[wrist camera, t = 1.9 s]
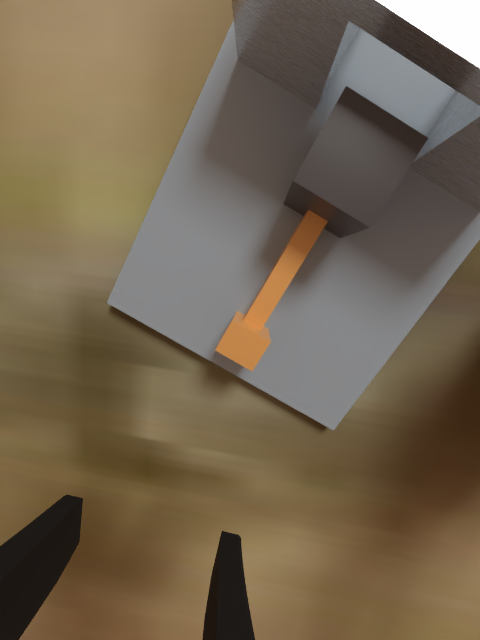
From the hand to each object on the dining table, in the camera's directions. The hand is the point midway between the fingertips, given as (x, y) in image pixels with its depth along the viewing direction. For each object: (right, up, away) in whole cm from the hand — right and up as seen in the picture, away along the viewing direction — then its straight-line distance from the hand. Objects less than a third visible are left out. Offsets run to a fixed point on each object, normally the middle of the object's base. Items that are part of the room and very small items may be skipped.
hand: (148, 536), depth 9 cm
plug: (+6, +12, +6) cm, 15 cm away
